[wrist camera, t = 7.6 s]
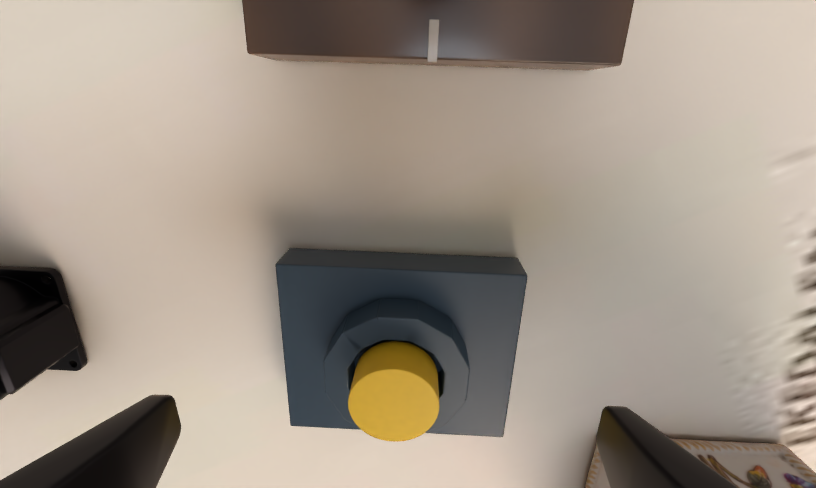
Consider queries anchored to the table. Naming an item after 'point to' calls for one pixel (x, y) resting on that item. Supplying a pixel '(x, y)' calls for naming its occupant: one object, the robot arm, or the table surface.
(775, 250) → the table surface
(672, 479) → the robot arm
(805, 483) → the decorative jar
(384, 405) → the button
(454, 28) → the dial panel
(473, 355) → the blue button base
